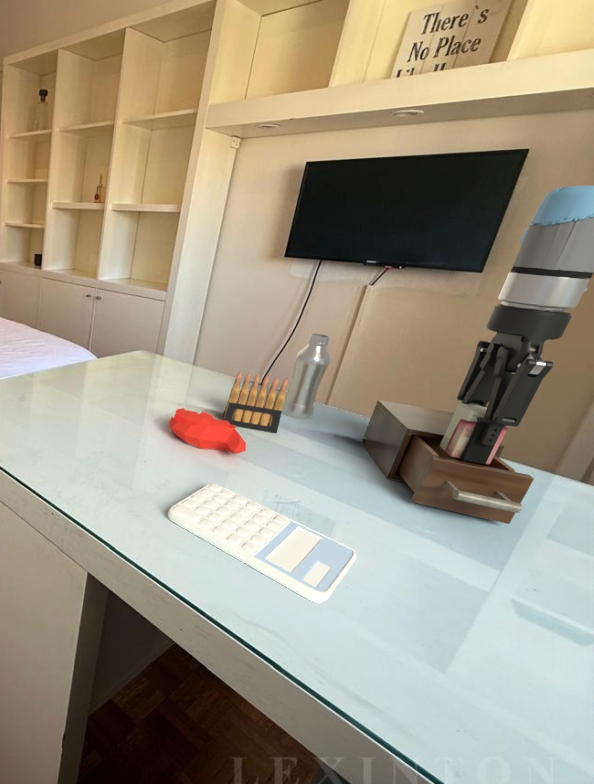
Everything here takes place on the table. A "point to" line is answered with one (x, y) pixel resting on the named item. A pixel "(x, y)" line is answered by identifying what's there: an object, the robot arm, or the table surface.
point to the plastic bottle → (307, 377)
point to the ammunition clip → (255, 404)
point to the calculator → (266, 541)
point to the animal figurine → (206, 431)
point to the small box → (465, 430)
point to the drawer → (462, 482)
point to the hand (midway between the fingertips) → (464, 453)
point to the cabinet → (402, 432)
